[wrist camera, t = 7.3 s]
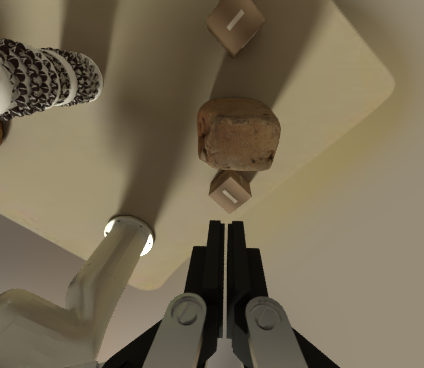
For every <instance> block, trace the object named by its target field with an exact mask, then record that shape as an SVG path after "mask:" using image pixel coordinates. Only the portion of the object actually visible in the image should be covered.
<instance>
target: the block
mask: <svg viewBox="0 0 424 368" xmlns="http://www.w3.org/2000/svg"><path fill="white" fill-rule="evenodd" d="M197 126H198V155H199V159H200V160H202V161H204V162H206V163H208V165H209V166H211V167H213V168H216V169H221V170H235V171H264V170H267V169H269V168H270V167H271V165H272V162H273V159H274V155H275V152H276V150H277V147H278V143H279V138H280V131H281V127H280V123H279V121H278V118H277V117H276V116H275V114H274V113H273V112H272V111H271V110H270V109H269V108H268V107H267V106H266V105H265V104H263V103H262V102H260V101H257V100H253V99H247V98H221V99H213V100H210V101H208V102H206V103H205V104H204V105H203V106H202V107H201V108H200V109H199V112H198V117H197Z"/></svg>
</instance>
